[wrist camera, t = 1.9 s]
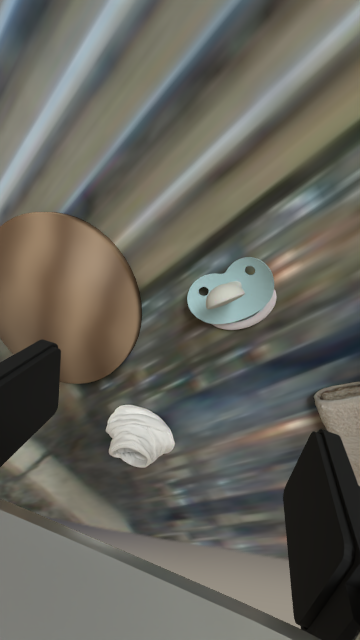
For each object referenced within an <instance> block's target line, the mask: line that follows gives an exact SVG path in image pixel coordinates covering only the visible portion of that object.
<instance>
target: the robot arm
mask: <svg viewBox="0 0 360 640" xmlns="http://www.w3.org/2000/svg"><path fill="white" fill-rule="evenodd" d="M60 363H61V350H60V349H59V348H58V345H57V344H56V343H53V342H50V341H47V340H44V339H41V340H39V341H37V342H35V343H34V344H32V345H30V346H28V347H27V348H25V349H23V350H21V351H20V352H18V353H16V354H14V355H13V356H11V357H9V358H7V359H6V360H4V361H2V362H0V467H1V466H2V465H3V464H4V463H5V462H6V461H7V460H8V459H9V458H10V457H11V456H12V455H13V454H14V453H15V452H16V451H17V450H18V449H19V448H20V447H21V446H22V445H23V444H24V443H25V442H26V441H27V440H28V439H29V438H30V437H31V436H32V435H33V434H35V433H36V432H37V431H38V430H39V429H40V428H41V427H42V426H43V425H44V424H45V423H46V422H47V421H48V420H49V419H50V418H51V417H52V416H53V415H54V414H55V412H56V410H57V408H58V398H59V381H60ZM283 501H284V512H285V523H286V534H287V545H288V557H289V568H290V578H291V590H292V600H293V612H294V619H295V622H296V624H298V625H300V626H301V629H299V628H297V627H295V626H293V625H290V624H288V623H286V622H284V621H282V620H279V619H277V618H275V617H273V616H271V615H269V614H266V613H264V612H262V611H260V610H258V609H255V608H253V607H251V606H249V605H247V604H244V603H242V602H240V601H238V600H236V599H233V598H231V597H229V596H226V595H224V594H222V593H219V592H217V591H215V590H213V589H210V588H208V587H205V586H203V585H201V584H199V583H196V582H194V581H192V580H190V579H187V578H185V577H183V576H180V575H178V574H176V573H173V572H171V571H169V570H166V569H164V568H161V567H160V566H157V565H155V564H153V563H150V562H148V561H146V560H143V559H141V558H139V557H136V556H134V555H131V554H129V553H127V552H125V551H122V550H120V549H118V548H115V547H113V546H111V545H108V544H106V543H103V542H101V541H99V540H97V539H94V538H92V537H89V536H87V535H84V534H83V533H80V532H78V531H75V530H73V529H71V528H69V527H66V526H64V525H62V524H59V523H57V522H55V521H52V520H50V519H47V518H45V517H43V516H40V515H38V514H36V513H33V512H31V511H28V510H26V509H24V508H21V507H19V506H17V505H14V504H12V503H9V502H7V501H5V500H2V499H0V640H360V486H359V485H358V482H357V480H356V477H355V474H354V472H353V469H352V466H351V464H350V461H349V458H348V456H347V453H346V450H345V448H344V445H343V442H342V440H341V437H340V436H339V435H337V434H334V433H331V432H328V431H325V430H322V429H320V430H319V431H318V432H312V433H311V435H310V437H309V439H308V441H307V443H306V445H305V447H304V449H303V451H302V453H301V455H300V457H299V459H298V462H297V464H296V466H295V468H294V470H293V472H292V474H291V476H290V478H289V480H288V482H287V484H286V486H285V489H284V494H283Z"/></svg>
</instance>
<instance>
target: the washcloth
mask: <svg viewBox="0 0 360 640" xmlns="http://www.w3.org/2000/svg"><path fill="white" fill-rule="evenodd" d="M314 399H315V405H316V407H317V410H318V412H319V413H320V414H319V415H320V418H321V420H322V422H323V424H324V425H325V427H326V429H327V431H328V432H331V433H334V434H337V435H339V436H340V437H341V440H342V442H343V445H344V448H345V450H346V453H347V456H348V458H349V461H350V464H351V466H352V469H353V472H354V474H355V477H356V480H357V482H358V485H359V486H360V382H354V383H348V384H341V385H336V386H330V387H327V388H324V389H321V390H319V391H318V392H317V393H316V394H315V395H314Z"/></svg>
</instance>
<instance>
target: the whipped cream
mask: <svg viewBox="0 0 360 640" xmlns="http://www.w3.org/2000/svg"><path fill="white" fill-rule="evenodd" d="M107 423H108V425H107V427H106V432H107V433H108V434H109V435H110V437H111V438H113V439H112V441H111V444H110V448H109V454H110V455H111V456H113V457H116V458H121V459H122V460H123V461H124V462H126V463H128V464H130V465H132V466H135V467H139V468H145V467H147V466H148V465H149V464H151V463H153V462H154V461H155V460H156V459H157V458H158V457H159V456H161V455H163V454H166V453H169V452H170V451H172V449H173V448H174V445H175V442H174V439H173V435H172V433H171V430H170V428H169V427H168V426H167V425H166V423H165V422H164V421H163V420H162V419H161V418H160V417H159V416H158V415H156V414H154V413H153V412H151V411H149V410H148V409H145V408H142V407H138V406H134V405H122V406H119V407H118V408H117V409H116V410H115V412H114V413H113V414H112V415H111V416H110V418H109V420H108V422H107Z"/></svg>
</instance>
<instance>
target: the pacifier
mask: <svg viewBox="0 0 360 640" xmlns="http://www.w3.org/2000/svg"><path fill="white" fill-rule="evenodd" d="M247 266H253V267H254V268H255V273H254V274H253V275H248V274H247V273H246V272H245V268H246V267H247ZM201 287H206V288H208V290H209V292H208V294H207V295H205V296H202V295H200V294H199V289H200V288H201ZM276 298H277V297H276V292H275V290H274V279H273V275H272V272H271V270H270V269H269V267H268V266H267V265H266V264H265V263H264V262H262V261H261V260H259V259H257V258H253V257H246V258H241V259H239V260H237V261H235V262H234V263H233V264H231V265H230V267H229V268H228V269H227V271H226V272H225V273H224V274H208V275H205V276H203V277H201V278H199V279H198V280H196V281H195V282H194V283H193V284H192V286H191V288H190V289H189V292H188V297H187V301H188V306H189V308H190V310H191V312H192V313H193V314H194V315H195V316H196V317H197V318H198V319H200V320H202V321H204V322H206V323H211V324H212V325H214V326H216V327H218V328H221V329H225V330H237V329H243V328H246V327H250V326H252V325H254V324H256V323H258V322H260V321H261V320H262V319H264V318H265V317H266V316H267V315H268V314H269V313H270V312H271V311H272V309H273V307H274V306H275V303H276Z"/></svg>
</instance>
